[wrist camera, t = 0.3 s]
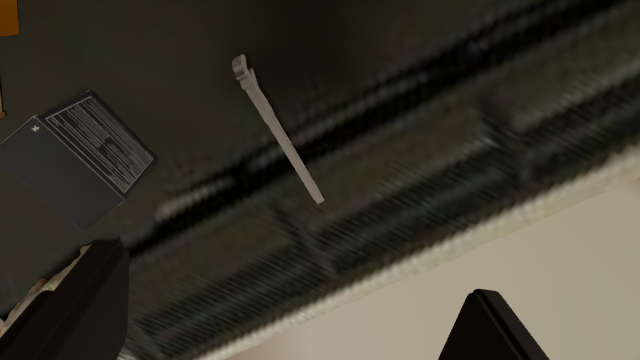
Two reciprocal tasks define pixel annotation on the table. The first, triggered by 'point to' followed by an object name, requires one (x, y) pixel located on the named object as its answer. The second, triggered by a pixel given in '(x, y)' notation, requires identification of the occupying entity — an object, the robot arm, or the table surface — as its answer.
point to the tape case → (8, 18)
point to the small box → (77, 158)
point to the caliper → (273, 122)
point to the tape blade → (0, 112)
